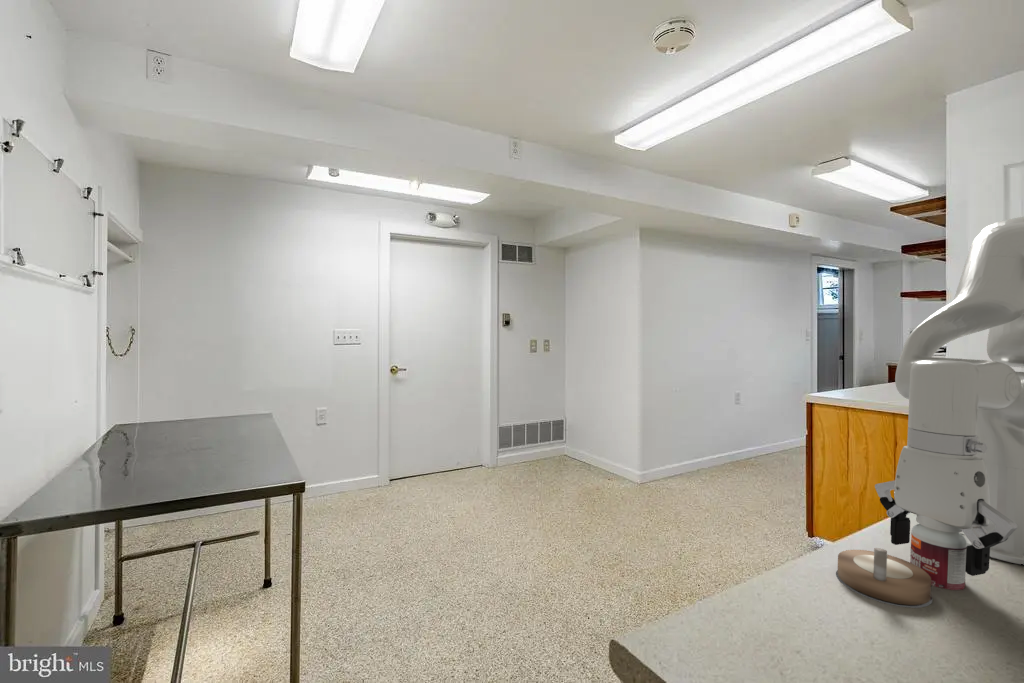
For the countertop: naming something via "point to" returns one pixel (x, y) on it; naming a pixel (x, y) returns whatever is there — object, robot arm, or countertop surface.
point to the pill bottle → (939, 552)
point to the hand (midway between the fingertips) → (935, 557)
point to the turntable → (884, 576)
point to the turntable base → (883, 600)
